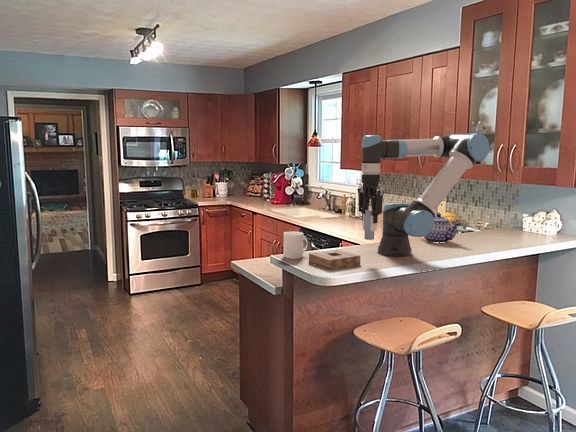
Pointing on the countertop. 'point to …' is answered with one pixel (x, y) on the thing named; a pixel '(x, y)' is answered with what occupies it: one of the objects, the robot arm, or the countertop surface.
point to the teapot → (442, 230)
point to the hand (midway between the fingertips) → (369, 229)
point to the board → (334, 259)
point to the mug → (294, 245)
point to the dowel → (368, 226)
